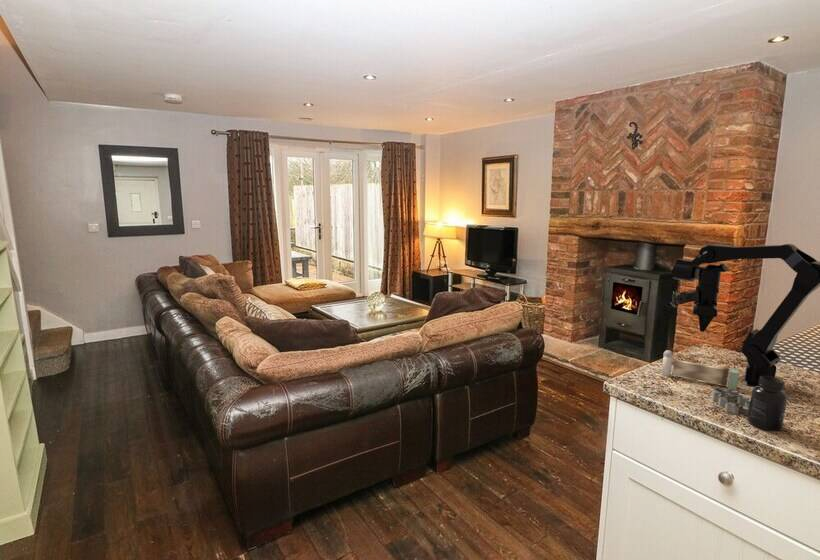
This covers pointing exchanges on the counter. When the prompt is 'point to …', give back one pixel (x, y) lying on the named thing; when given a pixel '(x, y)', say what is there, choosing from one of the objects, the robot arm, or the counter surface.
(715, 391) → the egg carton
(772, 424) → the supplement bottle
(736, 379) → the latch post
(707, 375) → the gate
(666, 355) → the hinge post
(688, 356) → the counter surface
